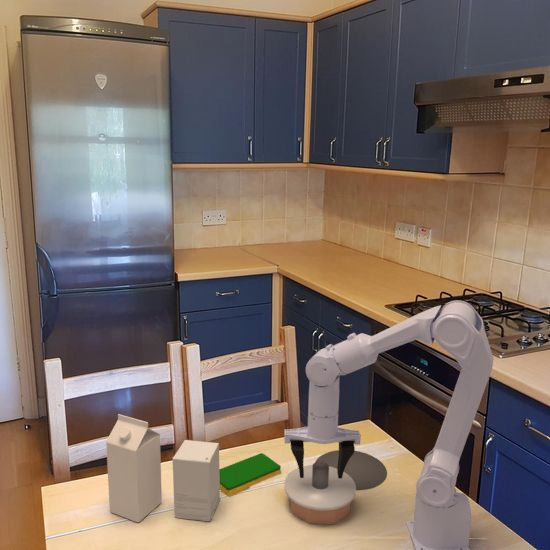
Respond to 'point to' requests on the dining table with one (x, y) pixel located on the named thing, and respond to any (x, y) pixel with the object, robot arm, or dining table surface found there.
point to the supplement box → (196, 480)
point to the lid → (320, 487)
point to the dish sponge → (247, 473)
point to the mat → (359, 468)
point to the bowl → (319, 514)
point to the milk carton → (133, 468)
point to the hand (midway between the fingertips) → (320, 475)
